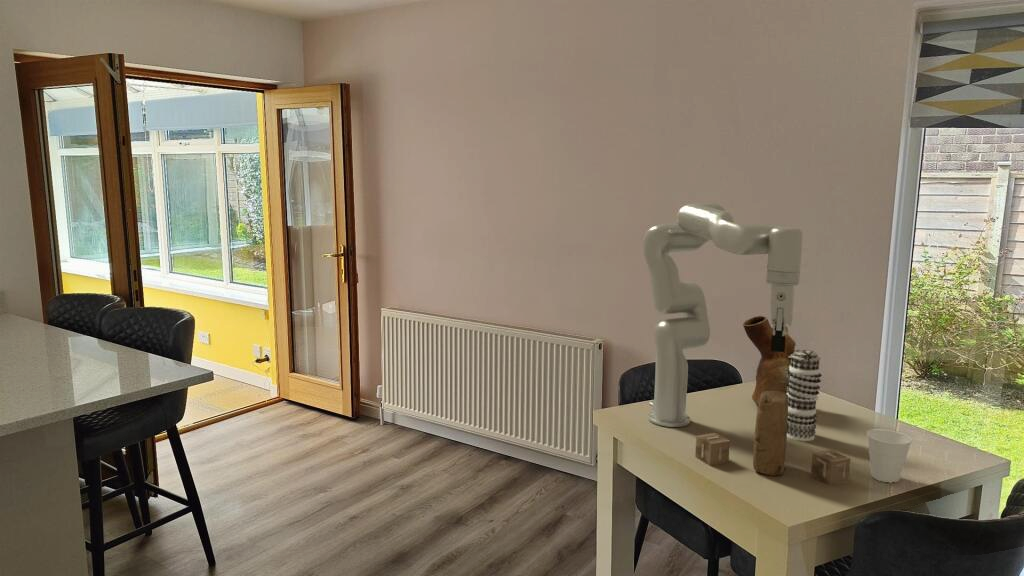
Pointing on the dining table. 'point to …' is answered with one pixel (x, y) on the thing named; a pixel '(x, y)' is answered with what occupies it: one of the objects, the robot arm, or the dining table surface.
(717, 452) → the walnut cube
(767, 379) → the ceramic vessel
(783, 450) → the block
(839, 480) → the walnut cube
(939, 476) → the dining table surface
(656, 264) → the robot arm
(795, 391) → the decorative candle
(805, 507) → the dining table surface
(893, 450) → the cup
